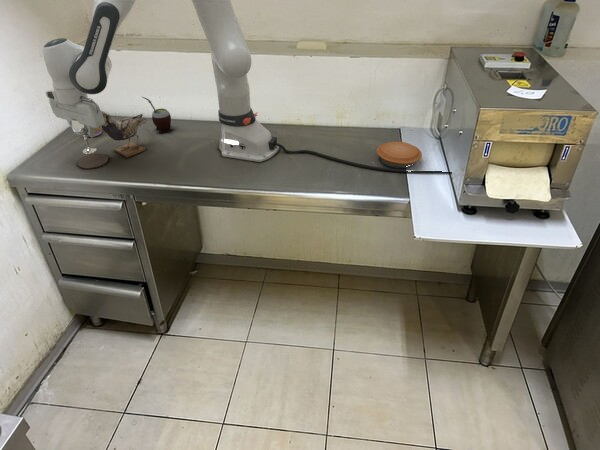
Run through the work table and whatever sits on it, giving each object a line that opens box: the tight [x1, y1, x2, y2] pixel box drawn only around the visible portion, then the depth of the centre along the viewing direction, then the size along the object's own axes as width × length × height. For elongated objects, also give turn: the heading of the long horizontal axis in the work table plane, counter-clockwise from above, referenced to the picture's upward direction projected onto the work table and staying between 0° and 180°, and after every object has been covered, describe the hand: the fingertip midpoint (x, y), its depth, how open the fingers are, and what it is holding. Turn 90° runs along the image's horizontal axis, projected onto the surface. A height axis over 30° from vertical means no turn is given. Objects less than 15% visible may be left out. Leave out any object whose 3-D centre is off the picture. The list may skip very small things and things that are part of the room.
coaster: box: [77, 153, 109, 170], centre depth 153 cm, size 10×10×1 cm
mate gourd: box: [141, 96, 172, 135], centre depth 169 cm, size 8×8×15 cm
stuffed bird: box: [95, 110, 148, 158], centre depth 154 cm, size 10×20×17 cm, turn 161°
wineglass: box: [71, 120, 97, 155], centre depth 146 cm, size 6×6×12 cm
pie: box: [376, 141, 423, 170], centre depth 153 cm, size 15×16×5 cm
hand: (84, 134), depth 146 cm, fingers closed on wineglass, 5 cm apart
